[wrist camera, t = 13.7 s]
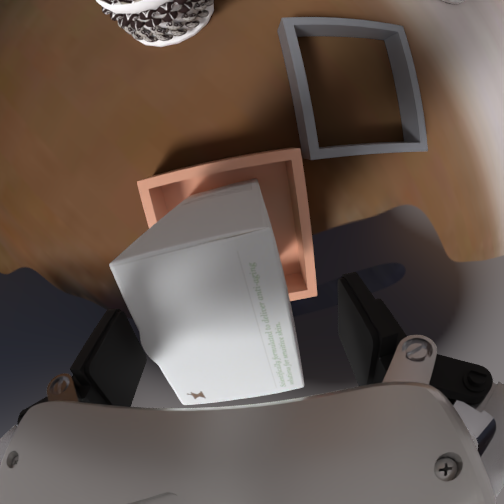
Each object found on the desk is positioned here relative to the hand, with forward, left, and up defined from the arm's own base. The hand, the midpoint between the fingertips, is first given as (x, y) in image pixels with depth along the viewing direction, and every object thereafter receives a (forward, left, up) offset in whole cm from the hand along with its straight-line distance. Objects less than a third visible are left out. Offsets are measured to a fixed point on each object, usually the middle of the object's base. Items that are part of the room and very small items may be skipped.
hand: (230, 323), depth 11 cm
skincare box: (+1, 0, -15) cm, 15 cm away
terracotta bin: (0, 0, -15) cm, 15 cm away
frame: (-13, -11, -15) cm, 23 cm away
